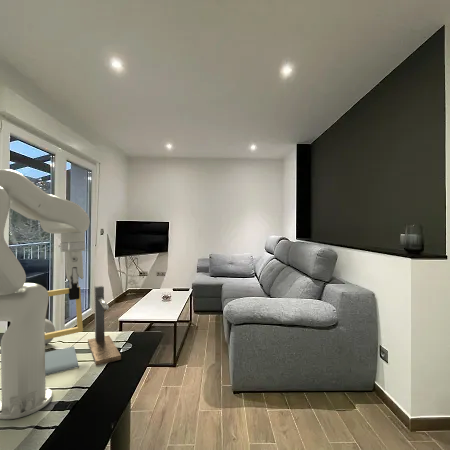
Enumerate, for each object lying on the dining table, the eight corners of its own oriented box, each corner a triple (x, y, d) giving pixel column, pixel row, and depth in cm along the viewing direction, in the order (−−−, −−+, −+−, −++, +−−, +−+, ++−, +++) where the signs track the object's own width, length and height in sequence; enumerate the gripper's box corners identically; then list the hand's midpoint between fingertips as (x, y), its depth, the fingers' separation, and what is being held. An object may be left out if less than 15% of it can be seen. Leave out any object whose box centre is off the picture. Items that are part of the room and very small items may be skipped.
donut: (57, 343, 117) (57, 318, 117) (50, 347, 114) (50, 321, 114) (37, 341, 120) (36, 316, 120) (29, 344, 116) (29, 319, 116)
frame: (82, 331, 105) (80, 287, 105) (36, 341, 98) (33, 293, 98) (82, 330, 107) (79, 286, 106) (36, 339, 100) (33, 293, 99)
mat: (78, 367, 97) (78, 365, 97) (35, 377, 91) (35, 375, 91) (74, 348, 112) (74, 346, 112) (36, 355, 106) (36, 354, 106)
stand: (120, 359, 102) (119, 294, 102) (95, 365, 98) (94, 297, 98) (109, 339, 121) (108, 284, 121) (87, 343, 117) (87, 286, 117)
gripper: (87, 247, 100) (88, 301, 100) (82, 245, 113) (83, 292, 113) (62, 249, 96) (63, 305, 96) (60, 246, 109) (61, 295, 109)
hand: (74, 298), depth 105 cm, fingers closed on frame, 1 cm apart
